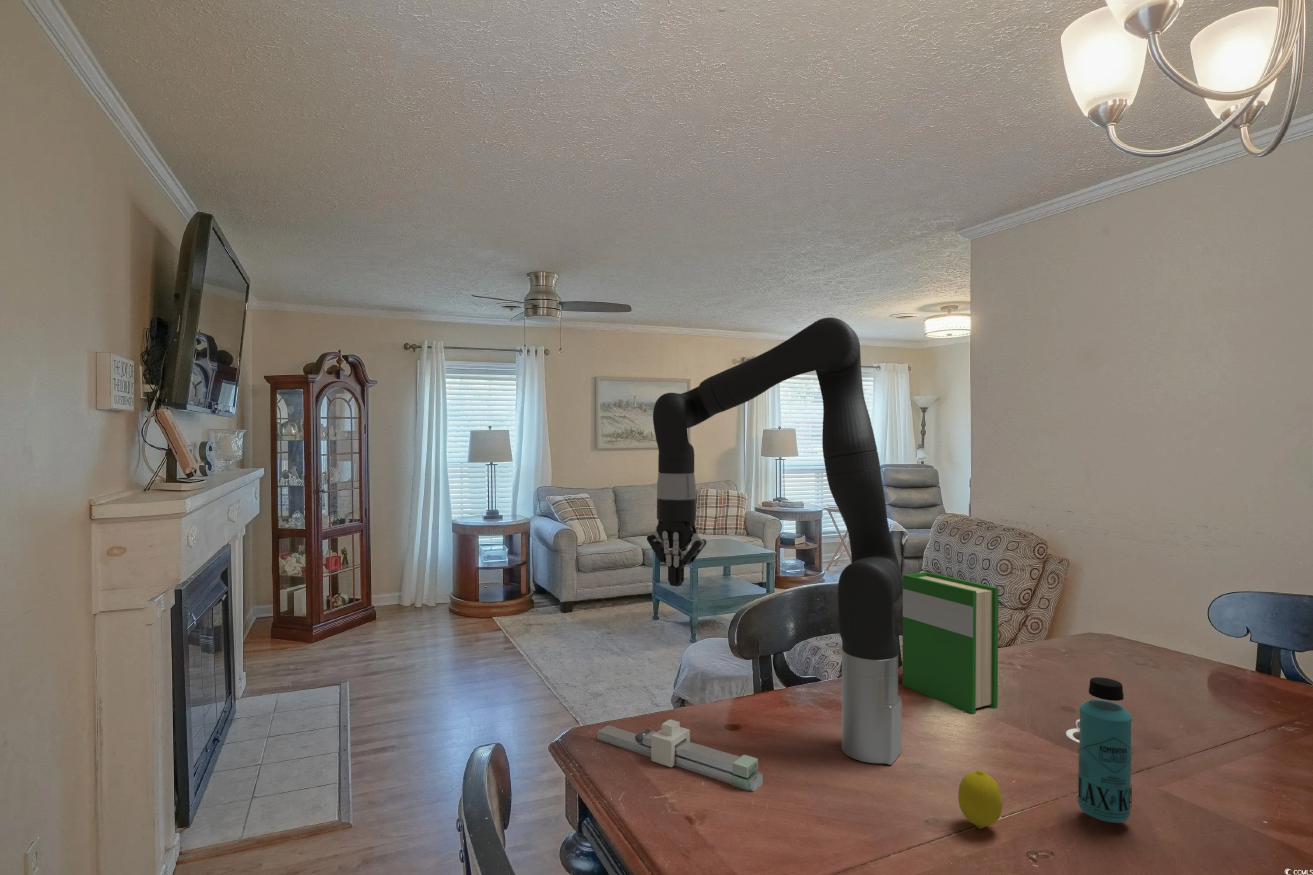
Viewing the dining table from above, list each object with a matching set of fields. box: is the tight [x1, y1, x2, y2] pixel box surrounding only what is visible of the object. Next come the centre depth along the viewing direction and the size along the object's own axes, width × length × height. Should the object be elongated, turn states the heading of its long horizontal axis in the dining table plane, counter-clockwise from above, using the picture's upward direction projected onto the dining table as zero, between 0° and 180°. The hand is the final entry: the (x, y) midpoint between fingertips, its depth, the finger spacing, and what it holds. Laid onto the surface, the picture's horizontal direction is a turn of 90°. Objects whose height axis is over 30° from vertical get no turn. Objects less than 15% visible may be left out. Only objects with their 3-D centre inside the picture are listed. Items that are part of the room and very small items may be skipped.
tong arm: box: [643, 730, 759, 778], centre depth 114 cm, size 20×4×2 cm, turn 55°
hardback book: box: [901, 571, 999, 715], centre depth 145 cm, size 18×7×24 cm, turn 27°
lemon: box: [957, 769, 1003, 830], centre depth 97 cm, size 6×6×8 cm
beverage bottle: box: [1076, 676, 1133, 824], centre depth 98 cm, size 6×7×20 cm
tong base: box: [596, 724, 764, 792], centre depth 116 cm, size 31×4×3 cm, turn 55°
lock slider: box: [650, 718, 691, 768], centre depth 117 cm, size 4×6×6 cm
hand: (675, 585), depth 135 cm, fingers closed
